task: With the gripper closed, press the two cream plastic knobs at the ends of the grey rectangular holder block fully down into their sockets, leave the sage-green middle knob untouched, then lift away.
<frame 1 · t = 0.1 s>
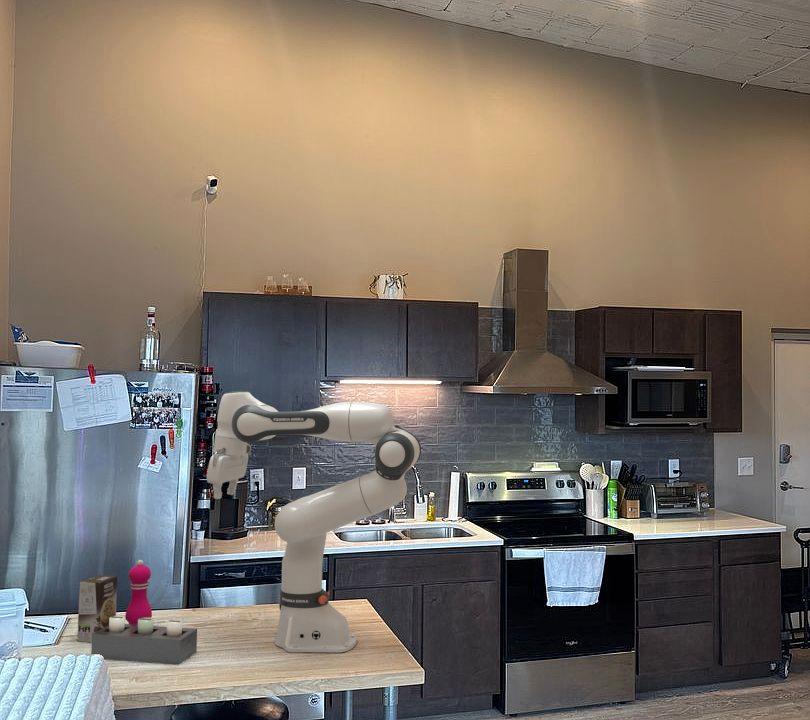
hand: (224, 496, 224), 39 cm above the table, tool pointing down, fingers open, 8 cm apart
brown food box: (96, 638, 219), on the table
knob outer: (116, 626, 207), point 7 cm above the table, slide at 0.0 cm
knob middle: (145, 628, 206), point 7 cm above the table, slide at 0.0 cm
knob inner: (174, 630, 204), point 7 cm above the table, slide at 0.0 cm
grey rectangular holder block: (144, 654, 205), on the table
pepper mill: (138, 631, 226), on the table
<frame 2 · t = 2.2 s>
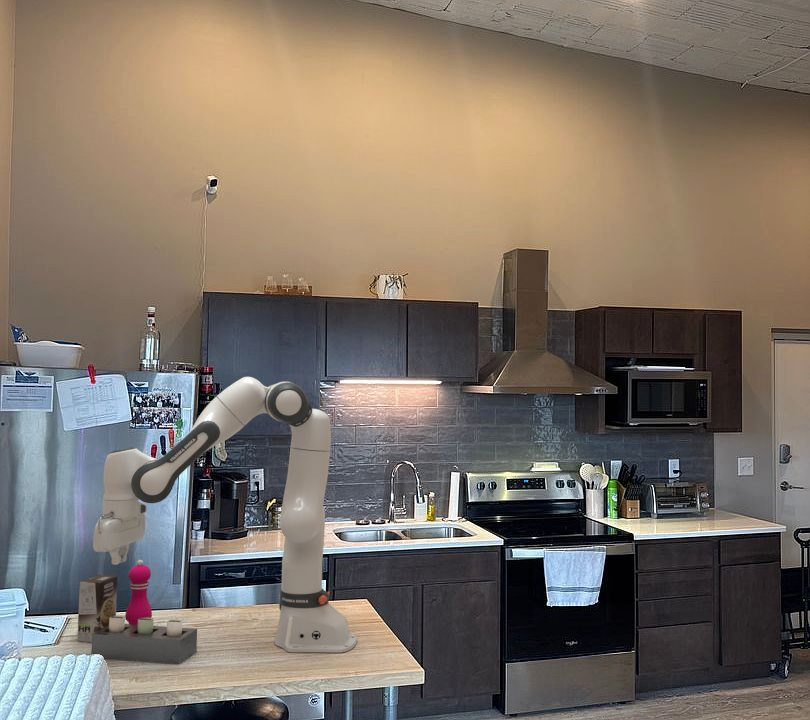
hand: (119, 563, 208), 23 cm above the table, tool pointing down, fingers closed
nothing on the table moved.
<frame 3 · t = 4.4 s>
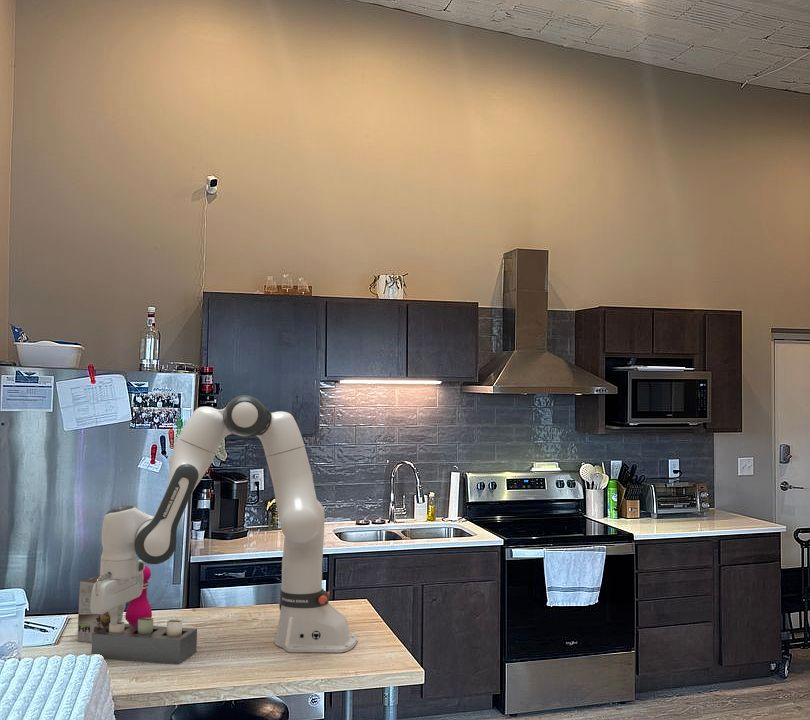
hand: (116, 622, 207), 8 cm above the table, tool pointing down, fingers closed, pressing on knob outer
knob outer: (116, 631, 207), point 5 cm above the table, slide at 1.5 cm, touching gripper
everything else where it was.
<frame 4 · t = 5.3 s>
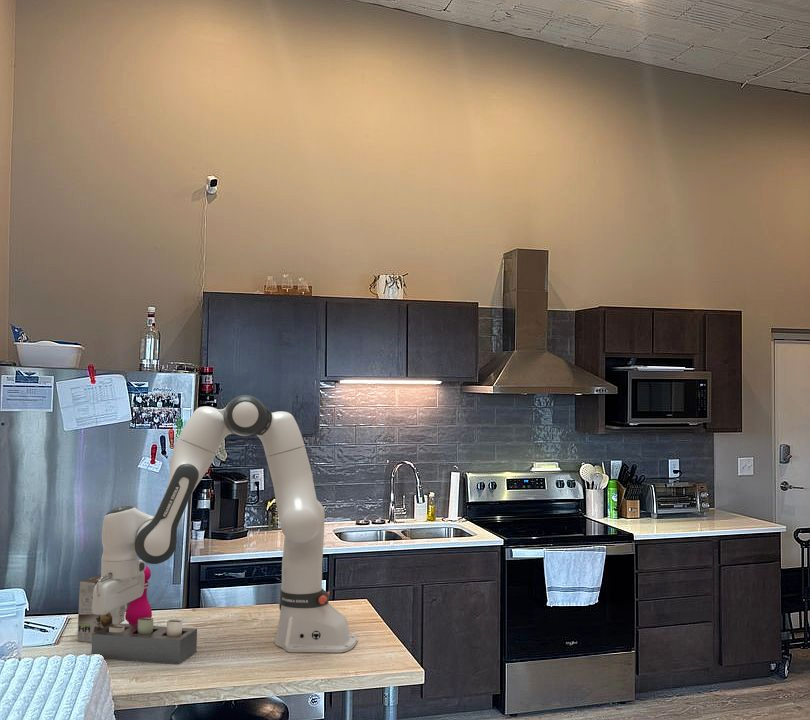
hand: (118, 623, 207), 8 cm above the table, tool pointing down, fingers closed
knob outer: (116, 635, 207), point 4 cm above the table, slide at 2.5 cm, touching grey rectangular holder block
everything else where it was.
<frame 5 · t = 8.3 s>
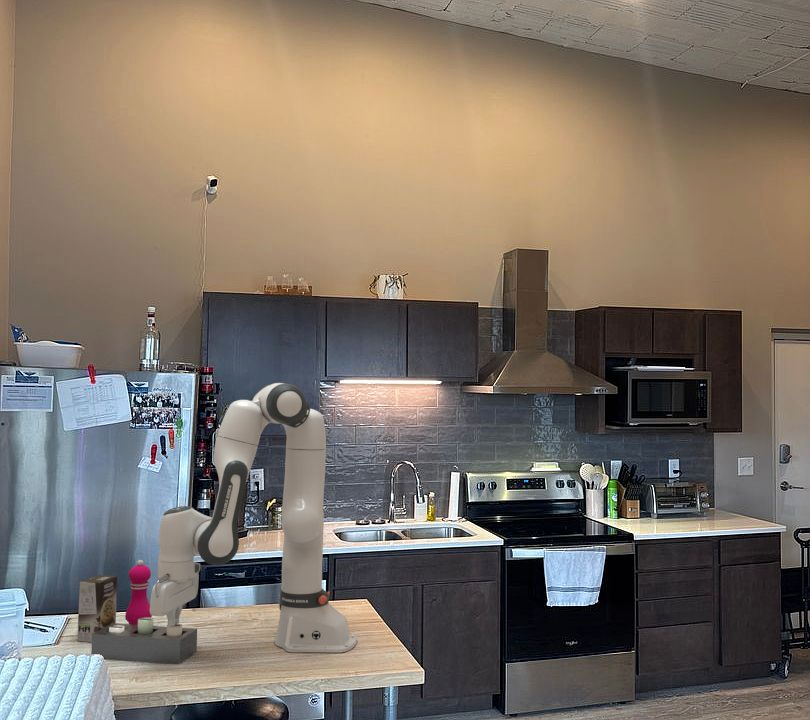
hand: (173, 624, 204), 8 cm above the table, tool pointing down, fingers closed, pressing on knob inner
knob inner: (174, 634, 204), point 6 cm above the table, slide at 1.0 cm, touching gripper
everything else where it was.
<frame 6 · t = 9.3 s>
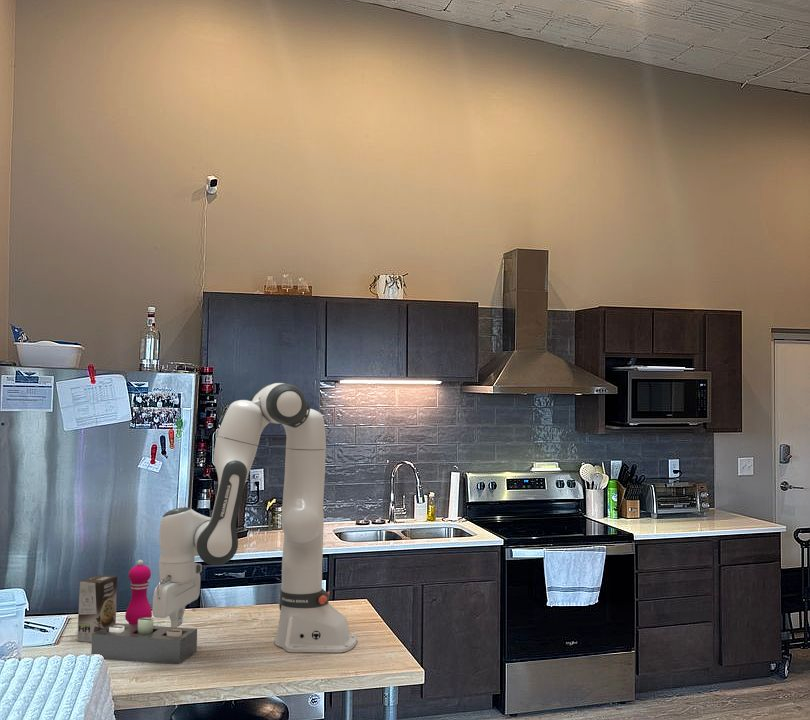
hand: (176, 625, 204), 8 cm above the table, tool pointing down, fingers closed
knob inner: (174, 639, 204), point 4 cm above the table, slide at 2.5 cm, touching grey rectangular holder block
everything else where it was.
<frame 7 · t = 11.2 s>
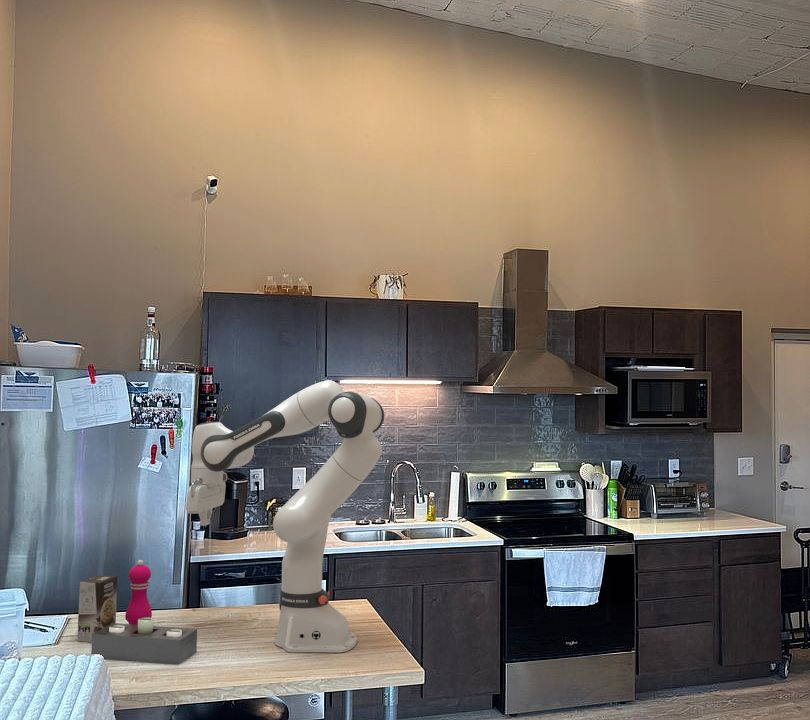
hand: (205, 525, 231), 29 cm above the table, tool pointing down, fingers closed
nothing on the table moved.
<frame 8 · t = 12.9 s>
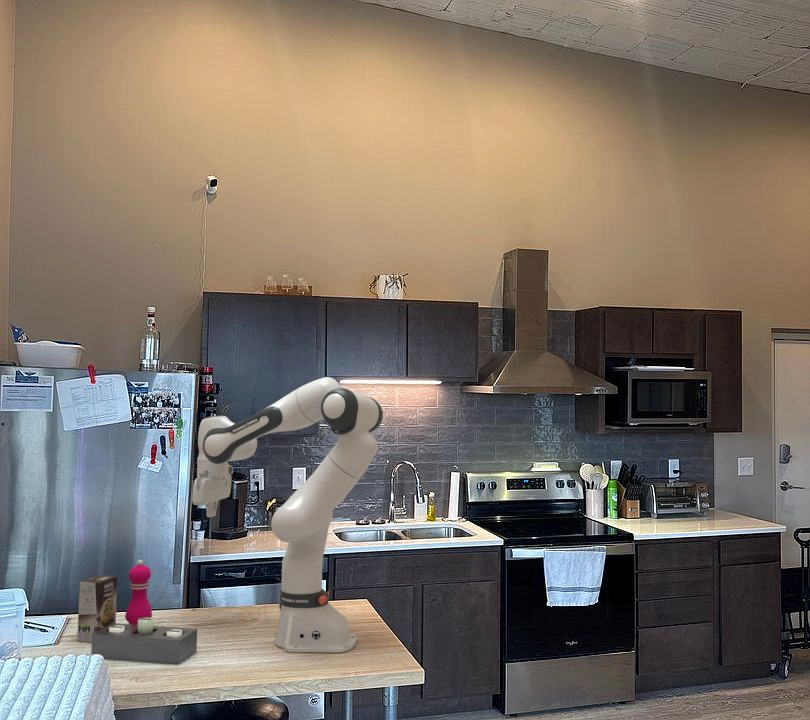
hand: (211, 516, 236), 31 cm above the table, tool pointing down, fingers closed
nothing on the table moved.
at the end: knob outer slide at 2.5 cm; knob inner slide at 2.5 cm; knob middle slide at 0.0 cm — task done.
